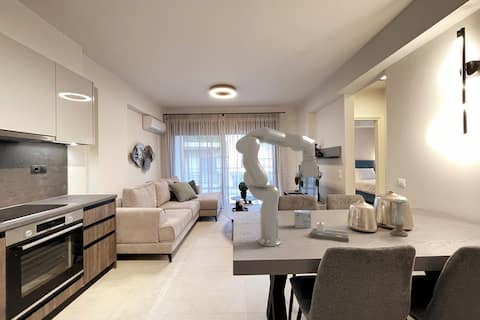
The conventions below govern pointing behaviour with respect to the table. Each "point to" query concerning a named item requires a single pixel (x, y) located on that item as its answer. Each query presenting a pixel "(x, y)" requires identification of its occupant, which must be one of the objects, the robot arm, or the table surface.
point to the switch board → (330, 235)
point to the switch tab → (320, 226)
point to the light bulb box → (302, 219)
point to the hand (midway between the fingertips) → (309, 186)
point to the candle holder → (398, 219)
